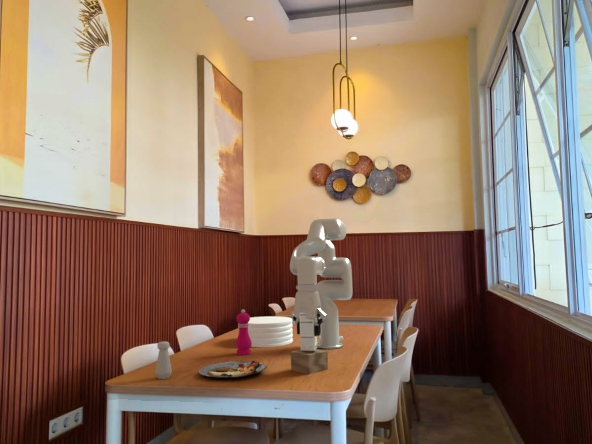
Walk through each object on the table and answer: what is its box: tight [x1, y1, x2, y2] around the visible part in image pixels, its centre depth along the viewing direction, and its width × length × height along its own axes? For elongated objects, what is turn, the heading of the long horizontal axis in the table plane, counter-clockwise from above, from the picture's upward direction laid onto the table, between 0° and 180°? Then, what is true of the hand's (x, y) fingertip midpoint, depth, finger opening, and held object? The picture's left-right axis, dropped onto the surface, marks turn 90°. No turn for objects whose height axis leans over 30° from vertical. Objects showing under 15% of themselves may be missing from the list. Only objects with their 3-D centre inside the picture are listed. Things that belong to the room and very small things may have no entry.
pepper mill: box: [235, 309, 252, 356], centre depth 211 cm, size 7×7×20 cm
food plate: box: [198, 360, 268, 379], centre depth 175 cm, size 25×23×4 cm
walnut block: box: [290, 348, 329, 375], centre depth 178 cm, size 10×10×7 cm
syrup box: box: [299, 312, 318, 351], centre depth 179 cm, size 6×6×14 cm
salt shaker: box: [155, 341, 173, 380], centre depth 171 cm, size 6×6×13 cm
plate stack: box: [237, 315, 294, 348], centre depth 240 cm, size 28×28×12 cm
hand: (308, 334), depth 179 cm, fingers open, 7 cm apart
